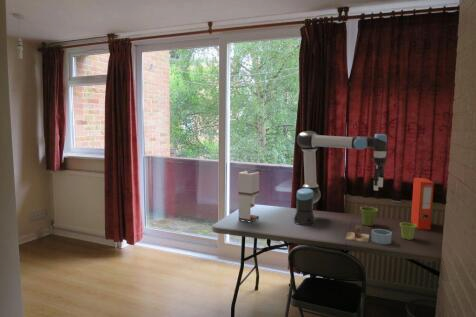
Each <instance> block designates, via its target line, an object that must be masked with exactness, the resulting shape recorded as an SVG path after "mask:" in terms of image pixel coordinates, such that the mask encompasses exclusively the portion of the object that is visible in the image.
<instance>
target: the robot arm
mask: <svg viewBox="0 0 476 317" xmlns="http://www.w3.org/2000/svg"><path fill="white" fill-rule="evenodd" d="M387 138H388V136H387V134H385V133H375V134H374V136H361V135H360V136H341V135H340V136H335V135H320V134H318V133H317V132H315V131H314V130H313V131H312V130H306V131H301V132H300V133H298V135H297V137H296V142H297V145H299V146H300V148H301V151H302V152H303V167H304V168H303V169H304V171H303V172H304V173H303V174H304V176H303V177H304V183H303V185H302V188H300V189H298V190H297V191H296V212H295V215H294V217H293V223H294V222H295V223H294V224H296V223H298V224H297V225H300V224H302V225H301V226H312V224H313V225H315V224H316V218H315V214H314V205H315V204H316V203H317V202H319V200H320V199H321V191H320V188H319V186H320V185H319V184H318V183H317V161H316V160H317V157H316V152H317V150H318V147H322V148H337V149H338V148H340V149H354V150H359V151H361V150H364V149H373V163H374V164H376V165H375V166H374V172H373V178H372V181H373V191H379V188H383V187H384V178H386V177H385V172H384V171H385V169H384V164H386V163H387V162H386V161H387V159H386V156H387V154H388V153H387V146H388V145H387V144H388V139H387Z"/></svg>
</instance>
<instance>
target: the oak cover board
mask: <svg viewBox="0 0 476 317" xmlns="http://www.w3.org/2000/svg"><path fill="white" fill-rule="evenodd" d="M361 230H362V226H361V225H355V228H354V232H352V231H348V232H347V233H346V235H345V237H346V238H344V239H345V240H344V241H350V240H353V241H352V242H357V241H360V243H365V242H367V243H366V244H369V243H368V241H369V242H370V240H369V236H370V237H371V235H370V234H367V233H361V232H362V231H361Z"/></svg>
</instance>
